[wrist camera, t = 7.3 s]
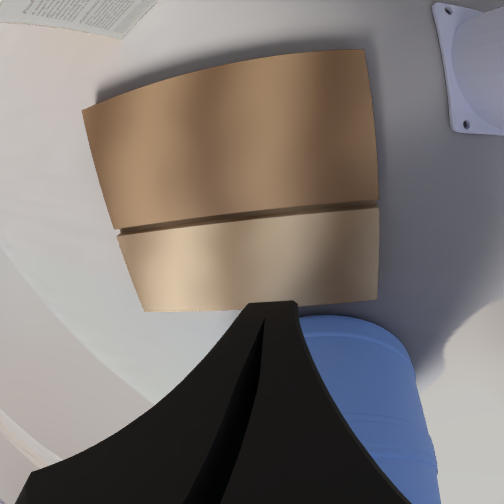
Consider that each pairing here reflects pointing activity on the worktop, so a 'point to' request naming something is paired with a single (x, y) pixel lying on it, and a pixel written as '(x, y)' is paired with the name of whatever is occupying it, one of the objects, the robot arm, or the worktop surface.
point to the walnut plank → (238, 139)
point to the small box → (77, 14)
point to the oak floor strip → (256, 258)
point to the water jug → (376, 398)
